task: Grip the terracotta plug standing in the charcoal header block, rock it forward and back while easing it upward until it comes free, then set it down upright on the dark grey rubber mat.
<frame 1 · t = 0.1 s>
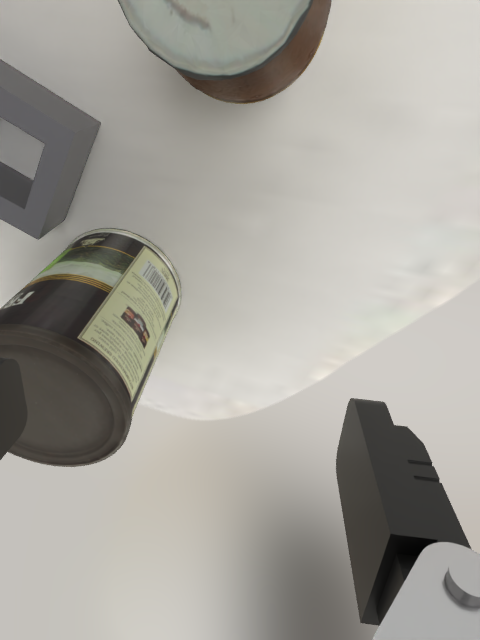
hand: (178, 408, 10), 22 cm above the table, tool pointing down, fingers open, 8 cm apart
sauce bottle: (256, 22, 24), on the table
coffee can: (122, 285, 35), on the table
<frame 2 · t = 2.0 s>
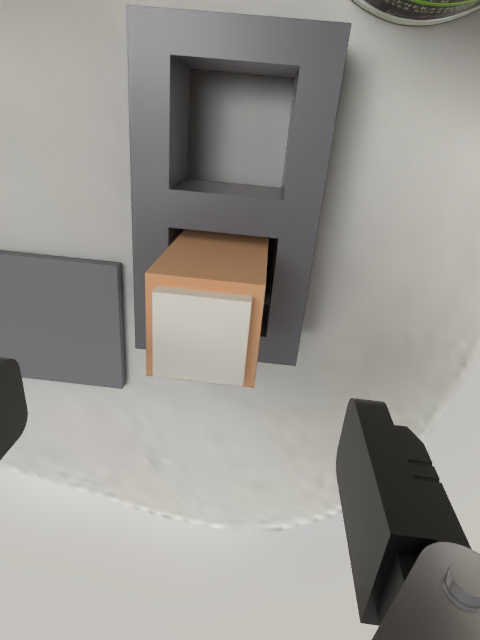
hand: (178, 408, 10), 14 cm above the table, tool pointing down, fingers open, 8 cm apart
header: (233, 199, 21), on the table
mat: (57, 320, 25), on the table
plug: (228, 259, 23), resting in header
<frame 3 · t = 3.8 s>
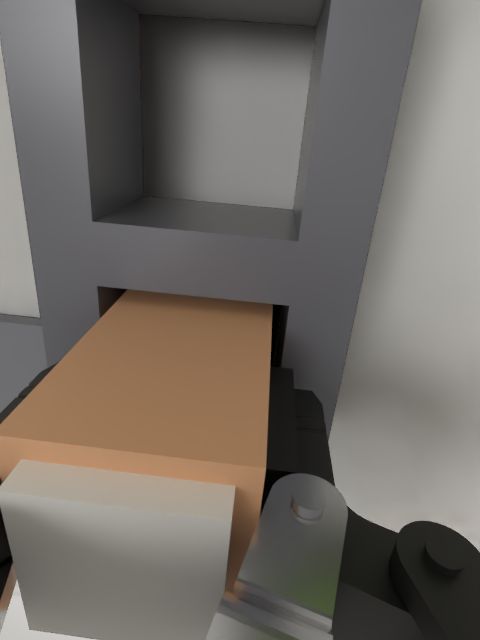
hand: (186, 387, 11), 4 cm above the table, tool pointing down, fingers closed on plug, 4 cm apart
header: (216, 227, 14), on the table
plug: (212, 317, 15), resting in header, touching gripper
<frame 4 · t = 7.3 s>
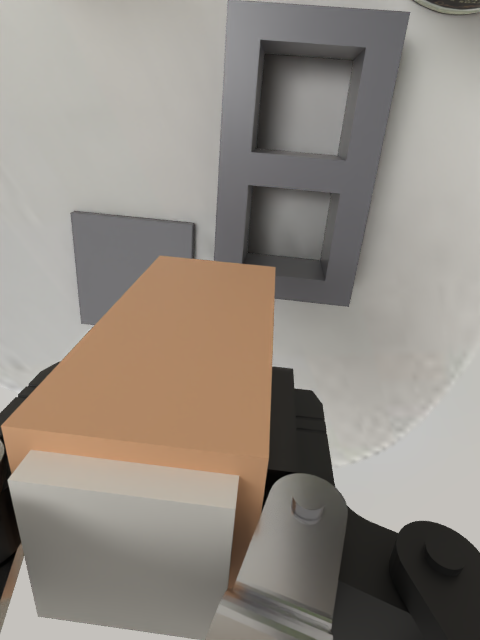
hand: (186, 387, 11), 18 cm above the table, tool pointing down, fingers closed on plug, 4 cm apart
header: (294, 166, 25), on the table
mat: (135, 274, 29), on the table
plug: (214, 314, 15), point 13 cm above the table, touching gripper
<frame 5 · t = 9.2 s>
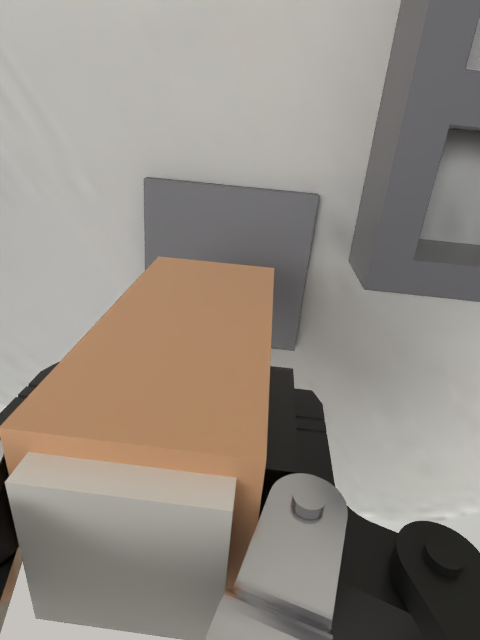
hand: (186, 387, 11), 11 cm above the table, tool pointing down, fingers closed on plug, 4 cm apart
header: (477, 109, 17), on the table
mat: (226, 267, 21), on the table
plug: (213, 315, 15), point 6 cm above the table, touching gripper
when the fingers open (6 cm above the table, at t = 10.9 s): plug stays where it is, resting on mat.
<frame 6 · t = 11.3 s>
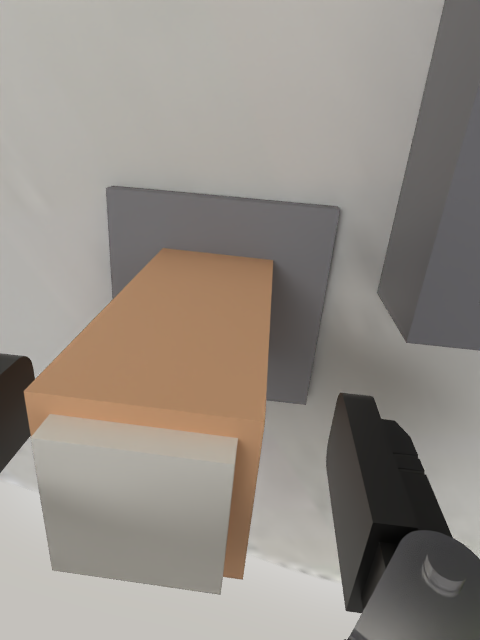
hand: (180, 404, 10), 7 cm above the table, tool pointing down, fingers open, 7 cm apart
mat: (217, 300, 16), on the table
plug: (214, 305, 16), point 1 cm above the table, touching mat
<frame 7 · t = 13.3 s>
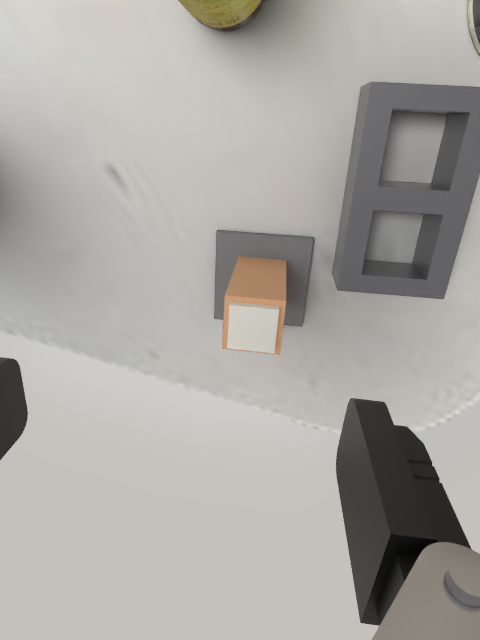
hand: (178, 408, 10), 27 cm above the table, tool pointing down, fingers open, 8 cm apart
header: (397, 192, 32), on the table
mat: (261, 278, 36), on the table
plug: (260, 280, 36), point 1 cm above the table, touching mat
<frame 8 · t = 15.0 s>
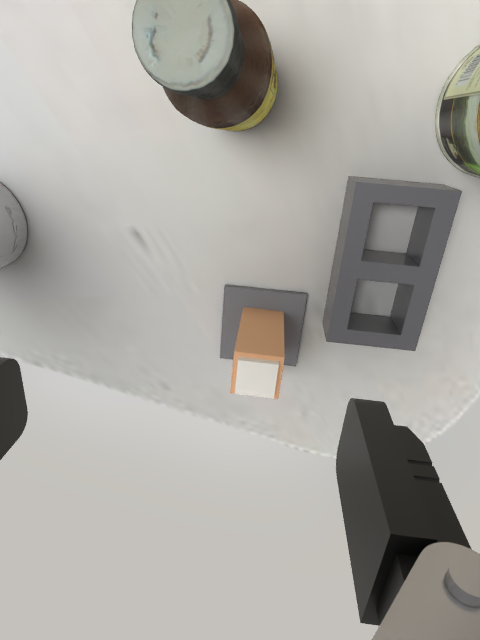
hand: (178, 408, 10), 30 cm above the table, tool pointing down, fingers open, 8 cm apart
sauce bottle: (238, 87, 34), on the table
header: (377, 259, 38), on the table
mat: (261, 325, 42), on the table
plug: (261, 327, 42), point 1 cm above the table, touching mat
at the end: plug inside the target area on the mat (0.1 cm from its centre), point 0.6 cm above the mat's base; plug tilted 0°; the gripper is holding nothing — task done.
